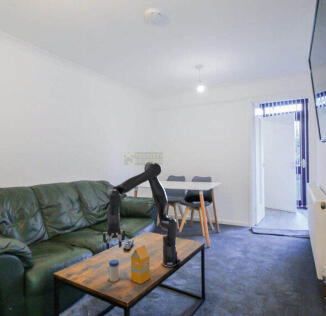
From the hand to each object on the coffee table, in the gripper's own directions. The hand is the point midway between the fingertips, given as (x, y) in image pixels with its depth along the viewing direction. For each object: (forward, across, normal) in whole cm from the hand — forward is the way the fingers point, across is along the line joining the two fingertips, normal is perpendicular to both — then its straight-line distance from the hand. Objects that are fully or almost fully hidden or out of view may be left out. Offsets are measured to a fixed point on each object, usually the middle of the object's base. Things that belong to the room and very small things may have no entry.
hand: (114, 248), depth 151 cm
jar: (+20, 0, 0) cm, 20 cm away
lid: (+9, 0, 0) cm, 9 cm away
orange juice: (+20, +15, -6) cm, 26 cm away
